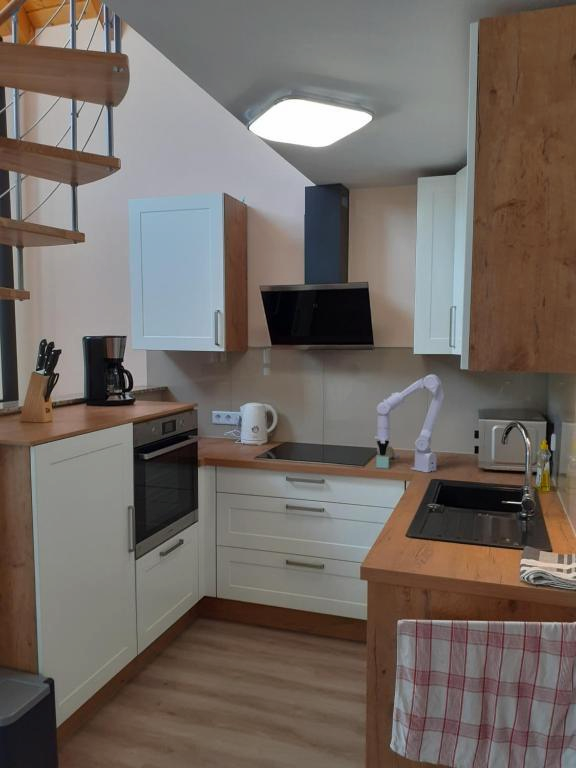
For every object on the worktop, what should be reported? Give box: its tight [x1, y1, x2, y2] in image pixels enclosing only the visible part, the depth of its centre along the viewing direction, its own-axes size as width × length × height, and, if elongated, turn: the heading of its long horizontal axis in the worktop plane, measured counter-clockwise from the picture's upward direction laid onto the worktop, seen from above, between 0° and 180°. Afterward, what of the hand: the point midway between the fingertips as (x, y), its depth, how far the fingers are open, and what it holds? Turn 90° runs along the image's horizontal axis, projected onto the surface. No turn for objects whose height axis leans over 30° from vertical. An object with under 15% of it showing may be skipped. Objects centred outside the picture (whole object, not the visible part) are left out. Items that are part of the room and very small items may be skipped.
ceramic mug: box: [376, 443, 400, 460], centre depth 304 cm, size 11×8×8 cm
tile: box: [375, 454, 390, 470], centre depth 280 cm, size 2×6×6 cm, turn 81°
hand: (382, 456), depth 284 cm, fingers closed
